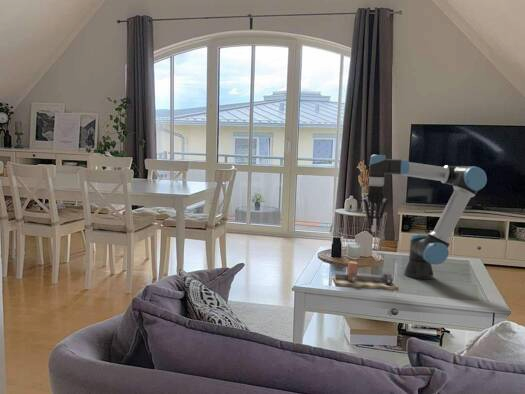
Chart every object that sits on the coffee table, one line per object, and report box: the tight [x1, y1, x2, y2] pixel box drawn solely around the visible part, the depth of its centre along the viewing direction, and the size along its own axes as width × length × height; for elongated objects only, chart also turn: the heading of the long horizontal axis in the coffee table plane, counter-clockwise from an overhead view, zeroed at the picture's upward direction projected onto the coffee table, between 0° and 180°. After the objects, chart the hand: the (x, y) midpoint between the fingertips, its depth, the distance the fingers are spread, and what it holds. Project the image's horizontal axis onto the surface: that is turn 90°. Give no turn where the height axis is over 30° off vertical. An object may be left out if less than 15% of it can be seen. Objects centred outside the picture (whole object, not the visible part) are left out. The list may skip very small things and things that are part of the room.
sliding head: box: [346, 260, 359, 281], centre depth 238 cm, size 4×8×8 cm, turn 179°
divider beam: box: [334, 272, 394, 284], centre depth 238 cm, size 28×7×6 cm, turn 89°
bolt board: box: [331, 276, 399, 291], centre depth 238 cm, size 30×12×1 cm, turn 89°
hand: (373, 231), depth 247 cm, fingers closed
